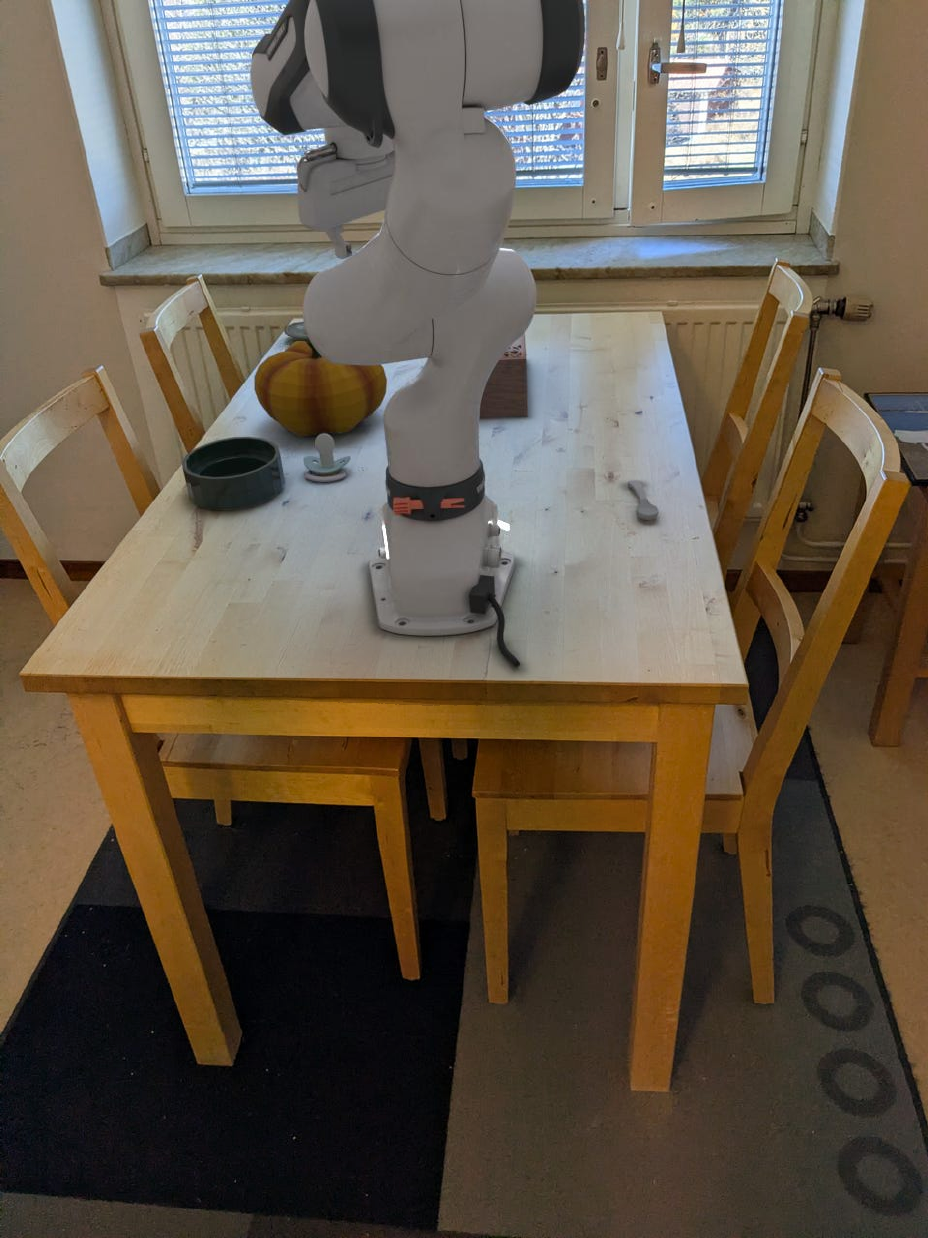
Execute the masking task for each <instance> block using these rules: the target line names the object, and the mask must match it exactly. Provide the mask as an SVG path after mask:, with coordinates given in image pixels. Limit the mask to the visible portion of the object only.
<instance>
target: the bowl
mask: <svg viewBox="0 0 928 1238" xmlns="http://www.w3.org/2000/svg"><path fill="white" fill-rule="evenodd" d="M181 467H182V472H183V477H184V480H185V485H186V490H187V493H188V497H189V500H190V501H191V502H192V503H193V504H194V505H195V506H199V507H201V508H204V509H209V510H215V511H229V510H232V511H233V510H239V509H243V508H249V507H252V506H256V505H258V504H261V503H265V502H267V501H269V500H270V499H272V498H273V497H274V498H275V496H277V495H278V494H279V493H280V492H281V491H283V488H284V486H285V483H286V478H285V473H284V467H283V462H282V455H281V451H280V448H279V446H278V445H277V444H276V443H275V442H274V441H272V440H269V439H267V438H262V437H255V436H234V437H227V438H221V439H217V440H214V441H210V442H206V443H204V444H202V445H200V446H198V447H195V448H194V449H192V450H191V451H190V452H188V453H187V454H186V455H185V456H184V458H183V459H182V461H181Z"/></svg>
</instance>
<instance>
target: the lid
mask: <svg viewBox="0 0 928 1238" xmlns="http://www.w3.org/2000/svg"><path fill="white" fill-rule="evenodd" d="M283 332H284V334H285V335H286V336H288V337H290V338H292V339H296V340H299V341H307V339H309V337H308V335H307V333H306V330H305V326H304V321H299V322H293V323H290V324H288V325H286V326H285V328H284V329H283Z"/></svg>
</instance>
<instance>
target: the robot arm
mask: <svg viewBox="0 0 928 1238" xmlns="http://www.w3.org/2000/svg"><path fill="white" fill-rule="evenodd" d="M585 39H586V17H585V5H584V0H289V1H288V3H287V4H286V6H285V7H284V9H283V11H282V12H281V14H280V16H279V17H278V19H277V21H276V23H275V25H274V26H273V28H272V30H271V32H270V33H268V32H267V33H265V34H264V35H263V36H262V38H261V39H260V40H259V42H258V43H257V44H256V45H255V47H254V49H253V51H252V54H251V61H250V70H249V76H250V77H249V78H250V79H249V80H250V87H251V93H252V97H253V101H254V104H255V106H256V109H257V111H258V114H259V117H260V118H261V119H262V120H263V121H264V122H265V123H266V124H267V125H269V127H271V128H272V129H274V130H276V131H277V132H278V133H280V134H281V135H283V136H290V135H296V134H300V133H305V132H307V131H314V130H315V131H316V130H323V135H324V136H323V137H324V142H325V143H324V144H325V145H322V146H319V147H317V148H312V149H311V148H310V149H308V150H306V151H304V152H303V156H301V158H300V159H299V160H298V162H297V163H296V176H297V177H296V178H297V209H298V210H297V211H298V218H299V222H300V223H301V224H302V225H303V227H305V228H306V229H308V230H310V231H315V232H317V233H318V232H319V233H321V232H325V234H326V235H327V237H328V238H329V240H330V241H331V242H332V244H333V246H334V254H335V257H336V258H337V259H341V260H343V261H340V262H339V263H337V264H335V265H334V266H331V267H329V268H326V269H324V270H322V271H319V272H317V273H316V274H315V275H314V276H313V277H312V279H311V280H310V283H309V284H308V287H307V289H306V291H305V295H304V296H303V297H304V298H303V302H302V322H304V326H305V330H306V333H307V335H308V337H309V340H310V341H311V343H312V345H313V346H314V348H315V349H316V350H317V351H318V353H319V354H320V355H321V356H322V357H324V358H325V359H326V360H327V361H329V362H330V363H333V364H346V365H370V366H374V365H387V364H394V363H400V362H401V363H402V362H407V361H408V362H409V361H414V360H421V359H426V358H427V359H426V361H425V364H424V365H423V367H422V368H421V370H420V371H419V373H418V374H417V375H416V376H414V377H413V378H412V379H411V380H410V381H408V382H407V383H404V384H403V385H402V386H401V387H400V388H399V389H397V390H396V391H395V392H394V393H393V394H392V396H391V397H390V399H389V401H388V402H387V404H386V406H385V409H384V412H383V417H382V423H383V431H384V440H385V441H384V442H385V448H386V449H385V450H386V457H387V466H386V468H385V481H384V482H385V483H384V484H385V492H386V497H387V501H386V502H385V503H384V504H383V505H382V506H381V507H380V508H379V509H378V510H379V517H380V527H381V535H382V542H383V546H381V547H379V548H378V550H377V551H378V555H376V556H374V557H372V558H371V559H370V560H369V562H368V569H369V577H370V583H371V588H372V593H373V601H374V606H375V612H376V618H377V624H378V627H379V628H380V629H381V630H383V631H386V632H390V633H394V634H399V635H406V636H421V637H423V636H424V637H425V636H452V635H461V634H467V633H473V632H478V631H481V630H484V629H486V628H490V627H492V626H494V625H495V624H496V622H497V631H496V643H497V646H498V649H499V651H500V652H501V653H502V655H503V656H504V657H505V658H506V659H507V660H508V661H509V662H510V663H511V664H512V665H513V666H514V667H515V668H518V667H519V666H520V665H521V662H520V661H519V660H518V659H517V657H516V656H515V655H514V654H513V653H512V652H511V651H510V650H509V649H508V647H507V646H506V644H505V640H504V634H505V633H504V632H505V627H506V626H505V625H506V623H505V622H506V621H505V619H506V618H505V614H504V612H503V609H502V606H503V603H504V600H505V597H506V594H507V591H508V588H509V586H510V582H511V580H512V576H513V573H514V571H515V568H516V565H517V562H516V556H515V554H513V553H512V552H509V551H507V550H504V549H502V547H501V539H500V538H501V537H500V535H501V529H502V530H505V531H507V532H508V531H510V524H509V523H507V522H504V521H502V520H499V509H498V504H497V503H495V501H493V500H492V499H491V498H489V496H487V494H486V473H485V469H484V463H483V461H482V459H481V458H480V419H479V414H480V404H481V399H482V395H483V392H484V389H485V386H486V383H487V381H488V379H489V376H490V374H491V373H492V371H493V369H494V367H495V365H496V364H497V362H498V361H499V359H500V358H501V357H502V355H503V354H504V353H505V352H506V350H507V349H508V348H509V347H510V346H511V345H512V344H513V343H514V342H515V341H516V340H517V339H519V338H520V337H521V336H522V335H523V334H524V333H525V334H526V332H527V330H528V328H529V327H530V325H531V324H532V321H533V319H534V316H535V312H536V308H537V300H538V298H537V297H538V294H537V293H538V292H537V285H536V281H535V278H534V275H533V273H532V270H531V269H530V267H529V265H528V264H527V262H526V261H525V259H524V258H523V257H522V255H520V254H519V253H518V252H517V251H515V250H514V249H511V248H503V247H502V245H503V242H504V240H505V236H506V234H507V231H508V228H509V224H510V221H511V217H512V213H513V208H514V204H515V203H514V202H515V194H516V184H517V179H516V178H517V164H516V157H515V154H514V150H513V148H512V145H511V143H510V141H509V140H508V138H507V136H506V135H505V133H504V132H503V130H502V129H501V128H500V127H499V126H498V125H497V124H496V123H495V122H494V121H492V120H491V119H490V118H487V117H486V116H485V112H489V111H494V110H498V109H503V108H507V107H512V106H514V105H518V104H521V103H523V104H525V105H527V106H532V105H535V104H538V103H541V102H545V101H547V100H550V99H552V98H555V97H557V96H559V95H561V94H563V93H565V92H566V91H567V90H568V89H569V88H570V86H571V85H572V83H573V81H574V79H575V77H576V76H577V74H578V72H579V70H580V67H581V64H582V60H583V55H584V49H585ZM383 211H384V215H383V218H382V223H381V227H380V229H379V231H378V233H376V235H375V236H374V237H372V239H370V241H368V242H367V243H366V244H365V245H364V246H363V247H361V248H360V249H359V250H358V251H356V252H354V254H353V251H352V249H353V247H352V243H351V242H348V241H345V239H344V238H343V236H342V233H343V234H344V225H345V224H348V223H350V222H353V221H356V220H360V219H362V218H365V217H368V216H370V215H374V214H377V213H379V212H383ZM344 259H345V260H344Z"/></svg>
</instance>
